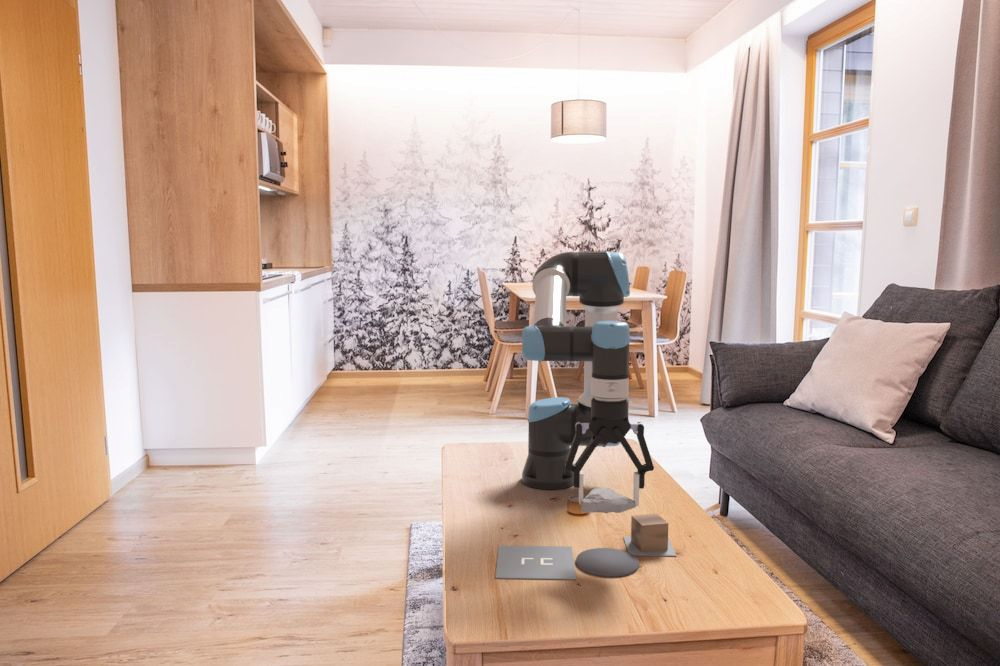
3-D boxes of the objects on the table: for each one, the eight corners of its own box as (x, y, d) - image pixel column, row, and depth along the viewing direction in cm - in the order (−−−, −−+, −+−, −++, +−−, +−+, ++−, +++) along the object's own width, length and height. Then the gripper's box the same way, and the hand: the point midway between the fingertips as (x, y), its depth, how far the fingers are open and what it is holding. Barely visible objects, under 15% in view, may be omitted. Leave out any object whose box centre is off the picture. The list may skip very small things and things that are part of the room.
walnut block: (631, 541, 164) (631, 515, 164) (656, 539, 166) (656, 513, 165) (641, 552, 159) (642, 525, 158) (667, 549, 160) (668, 523, 159)
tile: (623, 537, 167) (623, 536, 167) (667, 538, 167) (667, 537, 167) (629, 555, 157) (629, 554, 157) (676, 556, 157) (676, 555, 157)
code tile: (498, 546, 163) (498, 545, 163) (571, 547, 162) (571, 546, 162) (495, 578, 147) (495, 577, 147) (576, 579, 146) (576, 578, 146)
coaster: (574, 550, 160) (574, 547, 160) (634, 551, 160) (634, 548, 160) (578, 576, 148) (578, 573, 147) (643, 577, 147) (643, 574, 147)
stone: (642, 501, 155) (642, 485, 155) (626, 520, 144) (626, 502, 144) (596, 495, 159) (596, 479, 159) (577, 513, 149) (576, 495, 149)
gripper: (553, 401, 146) (552, 508, 149) (670, 401, 145) (668, 510, 148) (552, 393, 154) (551, 496, 156) (664, 394, 153) (661, 497, 155)
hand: (608, 503), depth 152 cm, fingers closed on stone, 11 cm apart
